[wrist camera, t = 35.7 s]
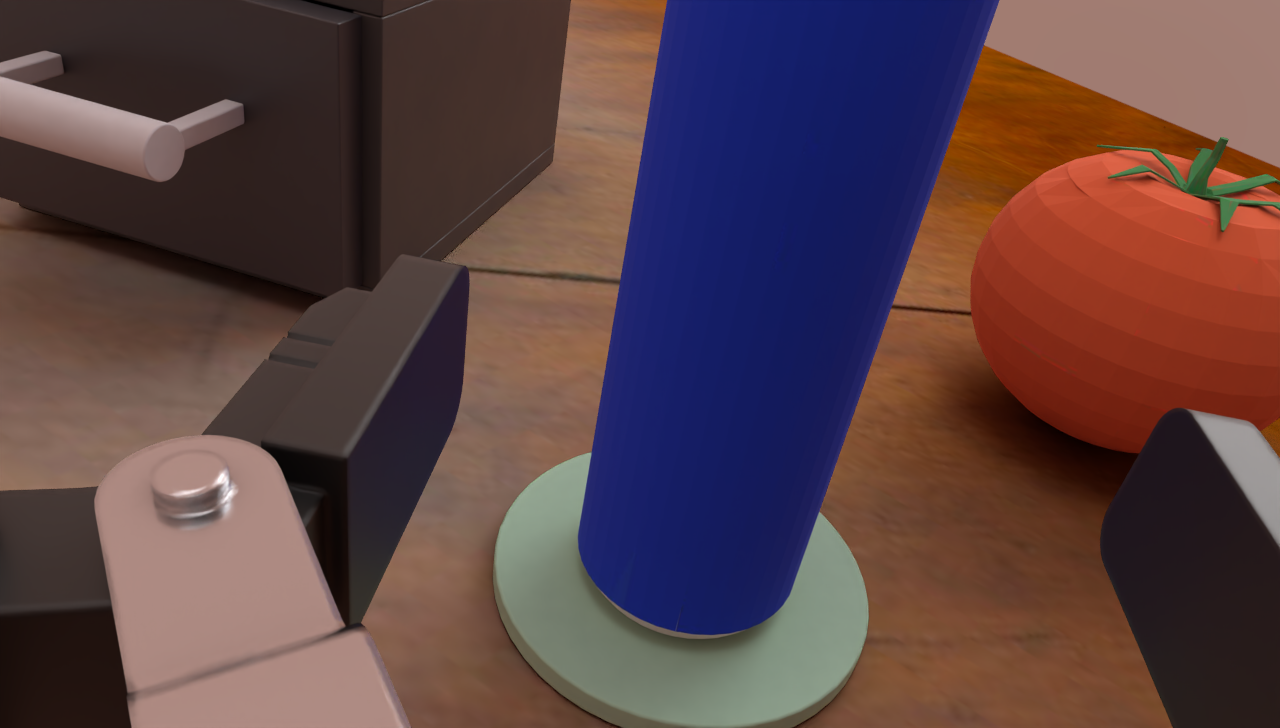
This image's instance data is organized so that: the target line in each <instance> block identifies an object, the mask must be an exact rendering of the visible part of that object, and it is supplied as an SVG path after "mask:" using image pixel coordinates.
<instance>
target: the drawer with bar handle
mask: <svg viewBox="0 0 1280 728" xmlns="http://www.w3.org/2000/svg"><path fill="white" fill-rule="evenodd" d="M354 11H355V10H350V9H346V8H342V7H338V6H334V5H330V4H326V3H322V2H318V1H314V0H0V197H1V198H4V199H8V200H11V201H14V202H18V203H21V204H24V205H28V206H31V207H34V208H38V209H41V210H44V211H48V212H51V213H54V214H58V215H61V216H64V217H68V218H71V219H74V220H77V221H81V222H84V223H87V224H91V225H94V226H97V227H101V228H104V229H107V230H111V231H114V232H117V233H121V234H124V235H127V236H131V237H134V238H137V239H141V240H144V241H147V242H151V243H154V244H157V245H160V246H164V247H167V248H170V249H174V250H177V251H180V252H184V253H187V254H190V255H194V256H197V257H200V258H204V259H207V260H210V261H214V262H217V263H220V264H224V265H227V266H230V267H233V268H237V269H240V270H243V271H247V272H250V273H253V274H257V275H260V276H263V277H267V278H270V279H273V280H277V281H280V282H283V283H287V284H290V285H293V286H297V287H300V288H303V289H306V290H310V291H313V292H316V293H320V294H323V295H326V296H331V295H333V294H335V293H337V292H338V291H340V290H342V289H344V288H346V287H349V288H354V289H357V288H358V287H360V286H361V285H362V55H361V15H358V14H354V13H353V12H354Z"/></svg>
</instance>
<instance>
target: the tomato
mask: <svg viewBox="0 0 1280 728" xmlns="http://www.w3.org/2000/svg"><path fill="white" fill-rule="evenodd" d="M1227 142H1228V139H1227V138H1224V137H1221V138H1220V139H1219V141H1218V143H1217V145H1216V146H1215V148H1214V150H1210V149H1205V148H1196V150H1199V151H1200V153H1199V154H1198V156H1197V157H1196V159H1195V160H1194V161H1192V160H1188V159H1184V158H1180V157H1177V156H1173V155H1168V154H1163V153H1160V152H1159V151H1158V150H1157V149H1145V148H1132V147H1119V146H1106V145H1097V147H1104V148H1114V149H1124V150H1121V151H1115V152H1109V153H1104V154H1099V155H1094V156H1089V157H1085V158H1080V159H1075V160H1073V161H1071V162H1068V163H1066V164H1064V165H1061V166H1059V167H1057V168H1054V169H1052V170H1050V171H1048V172H1045V173H1044V174H1043V175H1041V176H1040V177H1038V178H1037V179H1036V180H1035V181H1033V182H1032V183H1031V184H1029V185H1028V186H1027V187H1025V188H1024V189H1023V190H1021V191H1020V192H1019V193H1017V194H1016V195H1015V196H1014V197H1013V198H1012V199H1011V200H1010V201H1009V202H1008V203H1007V205H1006V206H1005V207H1004V208H1003V209H1002V210H1001V212H1000V213H999V214H998V215H997V216H996V217H995V219H994V221H993V223H992V224H991V226H990V228H989V230H988V232H987V234H986V236H985V237H984V239H983V241H982V243H981V246H980V248H979V250H978V252H977V256H976V260H975V264H974V267H973V271H972V275H971V315H972V319H973V324H974V328H975V332H976V336H977V340H978V342H979V344H980V346H981V349H982V351H983V353H984V355H985V357H986V359H987V360H988V362H989V364H990V366H991V368H992V370H993V372H994V373H995V375H996V376H997V377H998V379H999V380H1000V381H1001V382H1002V384H1003V385H1004V386H1005V387H1006V388H1007V389H1008V390H1009V391H1010V392H1011V393H1012V394H1013V395H1014V396H1015V397H1016V399H1017V400H1018V401H1020V402H1021V403H1022V404H1023V405H1024V406H1025V407H1026V408H1027V409H1028V410H1029V411H1031V412H1032V413H1033V414H1035V415H1036V416H1037V417H1039V418H1040V419H1041V420H1043V421H1044V422H1046V423H1048V424H1049V425H1051V426H1053V427H1055V428H1056V429H1058V430H1060V431H1062V432H1064V433H1066V434H1068V435H1070V436H1072V437H1075V438H1077V439H1080V440H1082V441H1085V442H1088V443H1090V444H1093V445H1096V446H1100V447H1104V448H1107V449H1111V450H1116V451H1122V452H1128V453H1140V452H1141V450H1142V448H1143V446H1144V445H1145V443H1146V441H1147V439H1148V438H1149V436H1150V434H1151V432H1152V431H1153V429H1154V427H1155V426H1156V424H1157V423H1158V421H1159V420H1160V418H1161V417H1162V416H1163V415H1164V414H1165V413H1167V412H1168V411H1170V410H1171V409H1174V408H1185V409H1190V410H1195V411H1200V412H1206V413H1211V414H1216V415H1221V416H1226V417H1231V418H1236V419H1241V420H1246V421H1249V422H1250V423H1252V424H1253V425H1254V426H1255V427H1256V428H1257V429H1258V430H1259V431H1261V430H1263V429H1264V428H1266V427H1267V426H1268V425H1270V424H1271V423H1273V422H1274V421H1275V420H1277V419H1278V418H1280V196H1279V195H1277V194H1276V193H1274V192H1272V191H1270V190H1268V189H1267V188H1265V187H1263V185H1267V184H1270V183H1274V182H1275V183H1277V184H1278V185H1280V181H1278V180H1277V179H1275V178H1274V177H1272V176H1270V175H1267V174H1266V175H1261V176H1257V177H1253V178H1249V179H1246V178H1244V177H1241V176H1238V175H1235V174H1233V173H1230V172H1227V171H1224V170H1221V169H1219V168H1216V167H1215V166H1216V165H1217V163H1218V161H1219V160H1220V158H1221V155H1222V153H1223V151H1224V149H1225V147H1226V144H1227Z"/></svg>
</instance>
